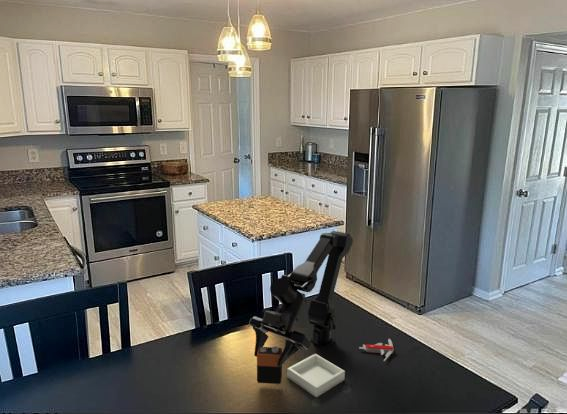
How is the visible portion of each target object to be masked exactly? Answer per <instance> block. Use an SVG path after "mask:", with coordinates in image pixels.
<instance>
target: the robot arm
mask: <svg viewBox="0 0 567 414" xmlns="http://www.w3.org/2000/svg"><path fill="white" fill-rule="evenodd" d="M353 241H354V239H353V237H352V236H351V234H350V233H349V232H343V231H342V232H341V231H338V230H337V231H336V230H332V231H330V232H324V233H323V232H322V233H321V234H320V236H319V240H318V241H317V243H316V244H315V246H314V248H313V249H312V251H311V252H310V253H309V254H308V256H307V258H306V259H305V261H304V262H303V263H301V264H299V265H297V266H296V267H295V268H294V269H293V270H292V271H291V273H290V274H288V275H285V274H282V275H281V277H279V278H276V279H275V280H274V281H272V283H271V284H270V287H269V290H270V293H271V295H272V296H274V298H275V299H276V300H278V302H279V303H280V306H279V307H276V309H275V310H274V311H270V310H264V314H263V317H262V318H260V317H258V316H253V317H251V318H250V320H249V322H248V325H249V326H251V327H252V330H253V331H254V332H255V347H254V355H253V356H254V357H256V358H257V352H258V348H259V347H265V344H266V342H267V341H268V339H269V335H268V334H267V333H271V334H274V335H277V336H280V337H282V338H285V343H284V348H283V349H282V354H281V356H280V358H279V361H278V364H277V366H279V367H280V366H281V365H282V366H283V364H284V363H286V361H288V360H289V358H290V357H292V356H293V355H294V354H296V353H297V352H298V351H302V350H309V349H310V347H311V345H312V344H311V343H313V344H315V345H316V346H319V347H320V348H325V347H327V346H330V345H331V344H333V343H335V342H336V339H334V338H333V330H336V329H337V326H338V323H339V319H338V318H337V316H335V305H334V303H333V296H334V293H335V289H336V285H337V281H338V278H339V277H338V276H339V274H340V269H341V265H342V262H343V259H344V258H345V257H346V256H347V255H348V254H349V253H350V249H351V247H352V245H353ZM326 259H327V261H326V264H325V268H324V272H323V276H322V280H321V284H320V286H319V287H320V288H319V290H318V291H319V292H318V296H317V297H315V298H314V299H312V300H311V301H310V303H309V308H308V309H307V318H308V324H309V325H313V330H312V337H311V338H309V337H308V336H307V335H306V334H304V333H302V332H299V331H296V330H293V331H292V329H293V327H294V325H295V323H297V322H299V321H298V320H299V318H298V315H299V313H300V311H301V307H302V306H303V303H304V304H307V298H306V294H305V293H310V292H312V291H313V290H314V288H315V286H316V284H317V282H318V281H317V280H318V272H319V270H320V268H321V267H322V265H323V264H324V262H325V260H326ZM300 291H301V292H300Z"/></svg>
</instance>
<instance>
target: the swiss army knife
mask: <svg viewBox="0 0 567 414" xmlns="http://www.w3.org/2000/svg"><path fill="white" fill-rule="evenodd" d="M387 342H388V344H386V343H385V344H384V343H382V342H378V343H376V344H362V347H361V346H359V347H358V349H361V350H364V351H365V352H366V353H373V354H375V353H376V354H377V353H378V354H380V355H381V356H383V355H384V357H385V358H384V359H383V362H386V360H387V359H388V358H389V357H390V356H391V354H392V355H393V354H394V350H395V348H394V345H393V342H392V340H391V338H388V340H387ZM383 344H384V345H383Z"/></svg>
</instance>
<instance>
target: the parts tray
mask: <svg viewBox="0 0 567 414" xmlns="http://www.w3.org/2000/svg"><path fill="white" fill-rule="evenodd" d="M286 369H287V371H286V372H287V373H286V377H287V378H288V379H289V380H290V381H292V382H293V383H295V384H296V385H297V386H299V387H301V388H302V389H303V390H305V391H306V392H308V393H309V394H311V396H313V397H315V398H318V397H320V396H321V395H322V394H324V393H326V392H327V391H329V390H330V389H332V388H334V387H335V386H337V385H339V384H341V383H342V382H344V381H345V376H346V375H345V374H346V371H345V370H344V369H342V368H340V367H339V366H338V365H335V364H334V363H332V362H330V361H329V360H327V359H325V358H323V357H322V356H320V355H319V354H317V353H313V354H312V355H310V356H307V357H306V358H304V359H303V360H301V361H299V362H297V363H295V364H293V365H291V366H290V367H287V368H286Z"/></svg>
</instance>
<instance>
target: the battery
mask: <svg viewBox="0 0 567 414" xmlns="http://www.w3.org/2000/svg"><path fill="white" fill-rule="evenodd" d="M282 352H283V348H281V347H279V346H272V347H270V346H263V347H259V348H258V352H257V357H256V382H257V383H258V384H273V385H280V384H281V383H282V376H283V364H282V365H281V366H280V367H279V366H277V364H278V361H279V358H280V356H281V354H282Z"/></svg>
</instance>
